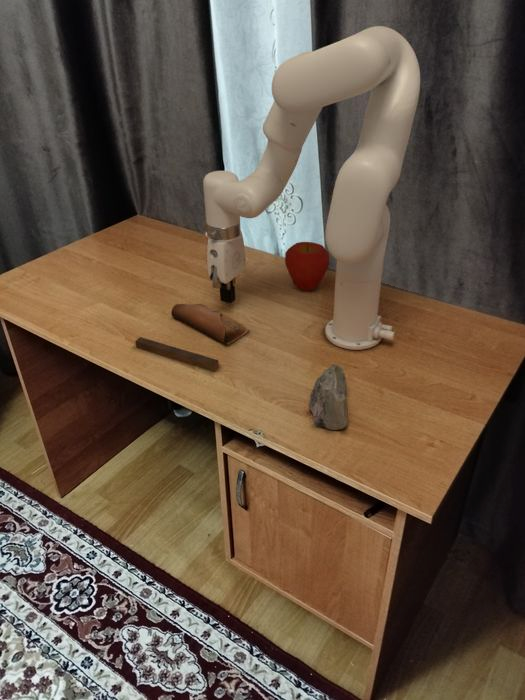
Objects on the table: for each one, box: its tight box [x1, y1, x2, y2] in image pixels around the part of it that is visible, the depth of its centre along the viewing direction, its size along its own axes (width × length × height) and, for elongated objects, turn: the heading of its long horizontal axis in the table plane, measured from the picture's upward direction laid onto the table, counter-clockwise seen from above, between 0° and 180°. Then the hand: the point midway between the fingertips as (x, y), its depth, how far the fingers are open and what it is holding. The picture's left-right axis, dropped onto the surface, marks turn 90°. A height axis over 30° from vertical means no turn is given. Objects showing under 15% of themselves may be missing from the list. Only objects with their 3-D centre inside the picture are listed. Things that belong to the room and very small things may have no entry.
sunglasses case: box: [170, 303, 249, 346], centre depth 131 cm, size 18×7×7 cm, turn 48°
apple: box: [284, 241, 330, 291], centre depth 143 cm, size 11×11×12 cm
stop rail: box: [134, 336, 220, 373], centre depth 122 cm, size 20×2×2 cm, turn 63°
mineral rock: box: [308, 364, 349, 431], centre depth 106 cm, size 13×11×10 cm
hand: (227, 300), depth 138 cm, fingers closed
